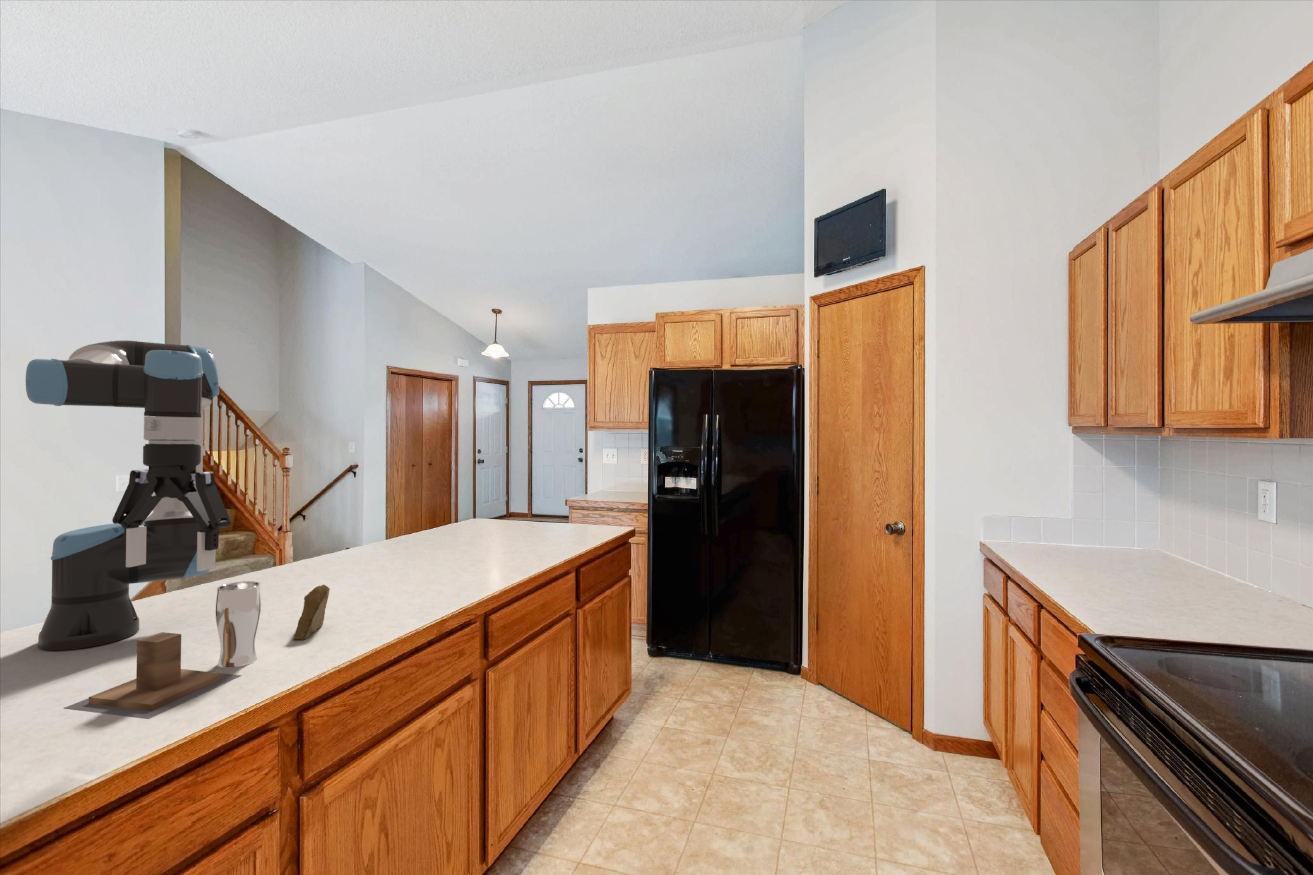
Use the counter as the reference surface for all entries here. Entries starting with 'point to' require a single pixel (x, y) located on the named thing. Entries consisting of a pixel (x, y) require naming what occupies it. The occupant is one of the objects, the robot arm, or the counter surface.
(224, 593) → the beer glass
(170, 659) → the lid
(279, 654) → the counter surface
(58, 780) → the counter surface
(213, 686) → the mat
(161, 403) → the robot arm
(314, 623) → the rock
